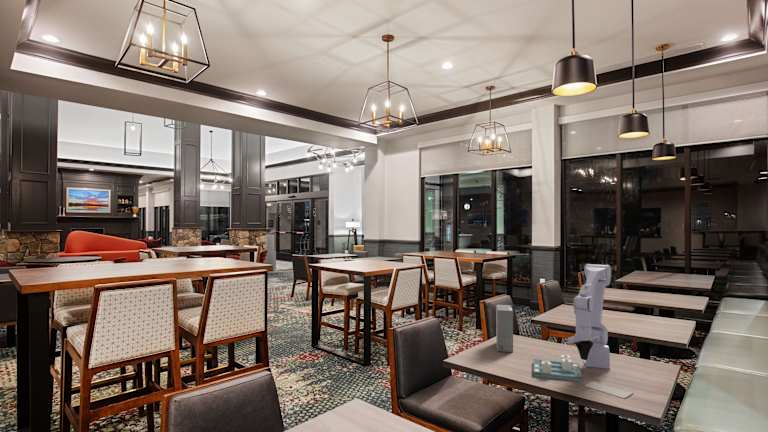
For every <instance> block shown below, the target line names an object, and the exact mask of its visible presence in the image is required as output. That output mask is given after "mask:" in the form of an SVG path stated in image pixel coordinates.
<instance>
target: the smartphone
mask: <svg viewBox="0 0 768 432" xmlns="http://www.w3.org/2000/svg"><path fill="white" fill-rule="evenodd" d="M583 386H584V387H585V388H588V389H592V390H595V391H598V392H601V393H604V394H607V395H609V396H614V397H617V398H620V399H623V400H626V399H629V398H630V397H632V396H633V395H634V393H633V392H629V391H626V390H623V389H619V388H616V387H612V386H609V385H606V384H602V383H599V382H595V381H590V382H588V383H586V384H583Z"/></svg>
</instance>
